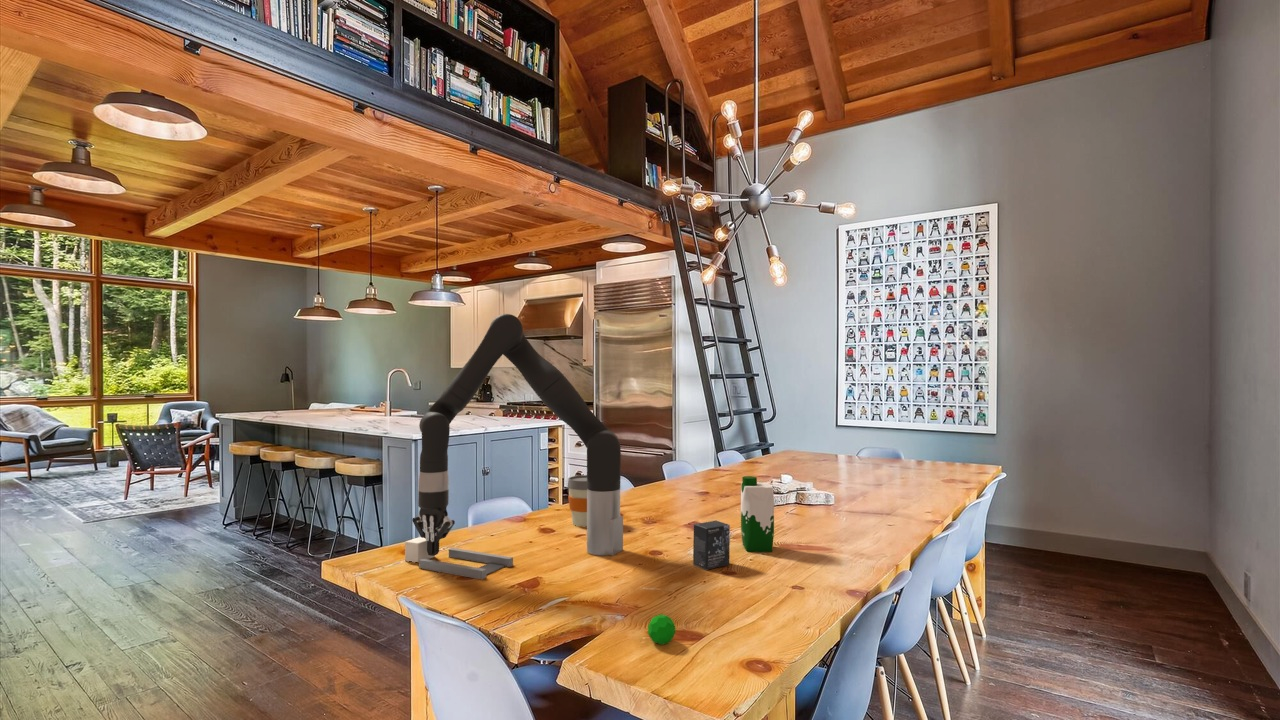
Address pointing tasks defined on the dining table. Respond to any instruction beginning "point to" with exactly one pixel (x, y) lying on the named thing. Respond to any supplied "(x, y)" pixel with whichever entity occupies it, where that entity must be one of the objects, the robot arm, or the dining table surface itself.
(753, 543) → the milk carton
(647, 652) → the dining table surface
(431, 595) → the dining table surface
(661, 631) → the polyhedron
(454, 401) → the robot arm
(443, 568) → the channel
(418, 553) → the block
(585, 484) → the reusable coffee cup
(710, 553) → the box
